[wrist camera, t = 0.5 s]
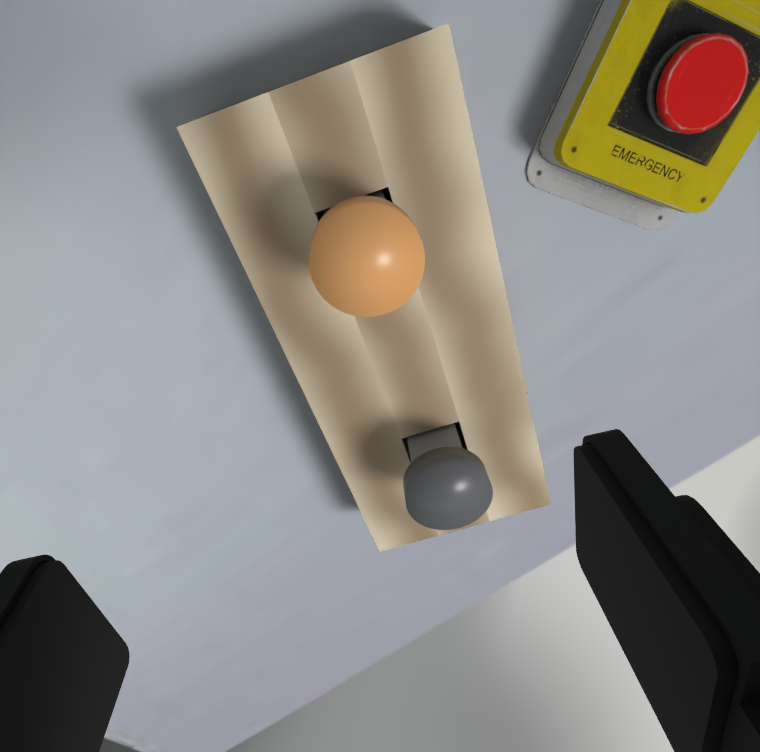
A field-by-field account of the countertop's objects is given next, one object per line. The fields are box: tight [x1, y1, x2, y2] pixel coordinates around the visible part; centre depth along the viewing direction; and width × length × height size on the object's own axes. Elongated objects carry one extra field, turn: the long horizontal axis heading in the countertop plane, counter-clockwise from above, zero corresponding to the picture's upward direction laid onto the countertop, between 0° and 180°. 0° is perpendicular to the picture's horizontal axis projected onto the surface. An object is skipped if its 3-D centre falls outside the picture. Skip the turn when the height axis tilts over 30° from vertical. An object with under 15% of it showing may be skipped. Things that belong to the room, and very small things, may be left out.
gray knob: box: [403, 423, 493, 530], centre depth 31 cm, size 5×5×6 cm
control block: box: [176, 23, 551, 551], centre depth 30 cm, size 12×28×4 cm, turn 18°
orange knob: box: [309, 189, 425, 317], centre depth 24 cm, size 5×5×6 cm
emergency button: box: [526, 0, 760, 230], centre depth 24 cm, size 9×4×15 cm
